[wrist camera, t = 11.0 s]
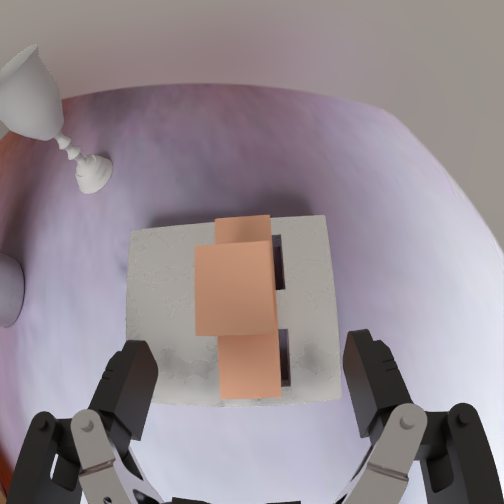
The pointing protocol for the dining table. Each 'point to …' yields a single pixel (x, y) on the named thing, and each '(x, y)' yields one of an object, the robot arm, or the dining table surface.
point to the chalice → (44, 114)
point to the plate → (205, 347)
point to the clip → (240, 306)
